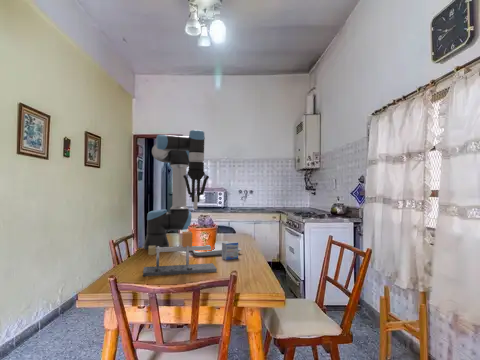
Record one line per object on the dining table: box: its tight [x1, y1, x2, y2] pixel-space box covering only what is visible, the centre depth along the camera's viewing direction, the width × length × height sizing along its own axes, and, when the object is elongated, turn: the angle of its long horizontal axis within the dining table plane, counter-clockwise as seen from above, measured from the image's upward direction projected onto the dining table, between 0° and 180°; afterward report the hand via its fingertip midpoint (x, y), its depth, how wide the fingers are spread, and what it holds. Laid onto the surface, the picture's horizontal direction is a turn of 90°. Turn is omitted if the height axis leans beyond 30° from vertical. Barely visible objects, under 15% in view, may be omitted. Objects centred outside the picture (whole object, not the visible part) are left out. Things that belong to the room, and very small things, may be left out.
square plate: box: [192, 240, 242, 257], centre depth 188 cm, size 27×27×4 cm
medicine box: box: [221, 241, 239, 261], centre depth 170 cm, size 8×4×9 cm, turn 123°
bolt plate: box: [142, 262, 218, 277], centre depth 145 cm, size 10×32×2 cm, turn 105°
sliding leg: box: [181, 231, 193, 267], centre depth 145 cm, size 6×4×15 cm
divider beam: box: [147, 245, 211, 269], centre depth 144 cm, size 6×28×10 cm, turn 105°
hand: (195, 208), depth 158 cm, fingers closed
